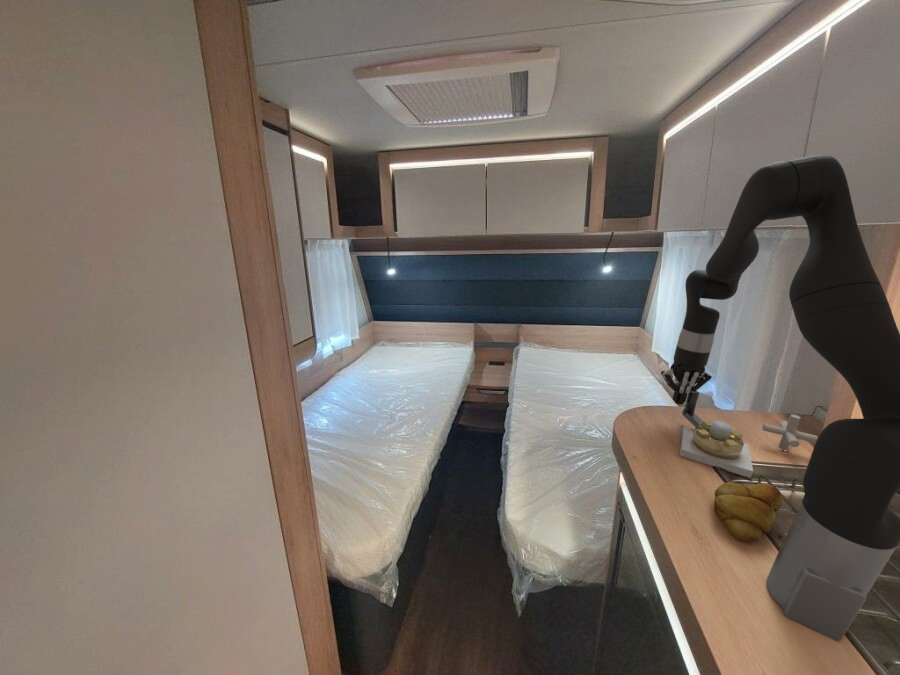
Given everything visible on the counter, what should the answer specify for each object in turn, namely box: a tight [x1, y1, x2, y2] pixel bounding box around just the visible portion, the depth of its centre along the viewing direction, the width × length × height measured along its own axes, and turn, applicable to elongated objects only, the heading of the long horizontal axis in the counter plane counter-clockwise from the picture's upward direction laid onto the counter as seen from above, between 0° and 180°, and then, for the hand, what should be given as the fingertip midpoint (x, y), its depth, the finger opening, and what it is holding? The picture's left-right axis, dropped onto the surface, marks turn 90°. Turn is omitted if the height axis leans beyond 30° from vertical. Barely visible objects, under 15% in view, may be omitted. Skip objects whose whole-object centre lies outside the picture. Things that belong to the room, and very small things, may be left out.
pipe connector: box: [762, 414, 819, 451], centre depth 88 cm, size 10×10×10 cm
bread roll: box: [713, 481, 784, 543], centre depth 68 cm, size 13×10×8 cm
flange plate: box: [679, 420, 754, 479], centre depth 87 cm, size 12×14×8 cm
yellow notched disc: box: [681, 390, 745, 459], centre depth 90 cm, size 18×10×9 cm, turn 178°
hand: (678, 403), depth 97 cm, fingers closed
